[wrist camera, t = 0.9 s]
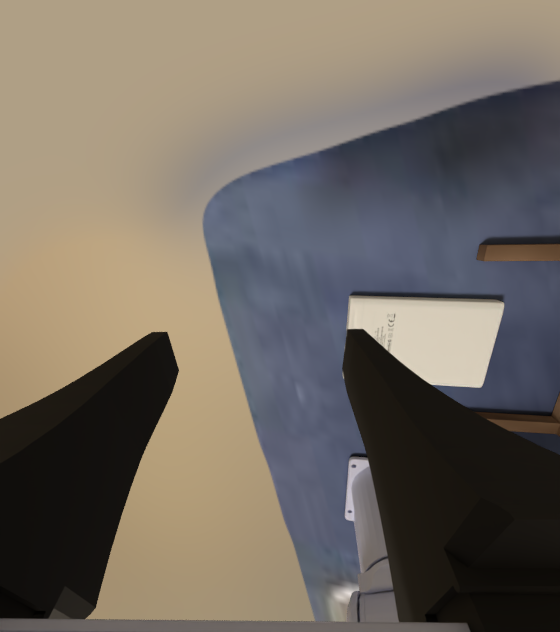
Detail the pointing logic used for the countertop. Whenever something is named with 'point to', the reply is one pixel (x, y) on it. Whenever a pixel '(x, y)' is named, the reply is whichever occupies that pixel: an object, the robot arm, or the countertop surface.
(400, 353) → the external hard drive
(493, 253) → the dock
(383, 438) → the robot arm
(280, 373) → the countertop surface
